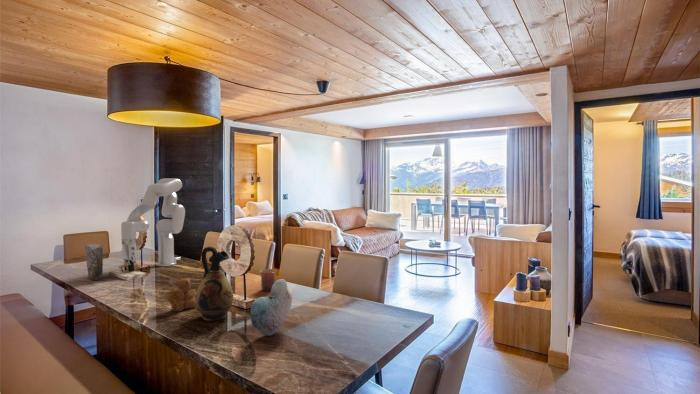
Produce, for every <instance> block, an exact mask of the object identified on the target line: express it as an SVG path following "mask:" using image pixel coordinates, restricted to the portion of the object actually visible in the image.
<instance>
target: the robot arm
mask: <svg viewBox="0 0 700 394" xmlns="http://www.w3.org/2000/svg"><path fill="white" fill-rule="evenodd" d="M182 188H183V182H182V181H181V179H179V178H174V177H173V178H172V177H171V178H166V177H165V178H161V179H159V180H158V182H157V183H151V184H149V185H148V186H147V188H146V191H145V193H144V195H143V197H142V200H141V201H140V203H139V205H137V206H136V207H135V208H134V209H133V210H132V211H131V212H130V214H129V215H128V217H127V218H126V219H127V220H126V221H122V222H121V225H120V227H121V229H120V230H121V231H120V232H121V233H120V234H121V235H120V237H121V239H120V240H121V245H122V246H121V257H122V259H123V265H125V263H124V262H126V261H128V262H129V265H128V271H129V272H130V271H134V262H135V261H136V262H137V259H138V251H137V238H136V236H137V234H136V233H142V232H143V233H144V232H147V231H148V230H149V229H150V223H149V222H148V221H147V220H144V219H140V218H141V217H142V216H143V215H144V214H146V213H148V212H150V211H152V210H154V209H155V208H156V206H157V203H158V200H159V198H160V197H163V202H162V208H161V215H162V216H163V217H164V218H165V219H163V218H162V219H160V220H158V221H157V223H156V225H155V227H156V232H157V238H158V239H157V240H158V241H157V244H158V262H156V263H155V266H157V267H169V266H175V265H176V264H177V261H178V260H179V261H180V260H181V259H182V258H181V256H177V257H176V256H175V250H174V249H175V245H174V244H175V242H174V240H175V239H174V235H173V234H179V233H181V232H182V230H183V227H184V223H185V222H184V221H185V217H186V208H185V207H184V206H183V205H182V204H180V203H179V204H178V194H177V193H176V192H179V191H180V190H181V189H182ZM167 218H168V219H167ZM169 218H170V219H169ZM131 259H132V260H131ZM130 261H131V262H130ZM123 269H125V271H126V266H125V267H123Z"/></svg>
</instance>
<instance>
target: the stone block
mask: <svg viewBox="0 0 700 394" xmlns="http://www.w3.org/2000/svg"><path fill="white" fill-rule="evenodd" d="M103 251H104V250H103V245H101V244H98V243H95V244H86V245H85V256H86V267H87V275H88V276H87V278H88V279H89V280H91V281H93V282H96V281H99V280H103V270H104V269H103V266H104V263H103V260H104V259H103V257H104V256H103V253H104V252H103Z"/></svg>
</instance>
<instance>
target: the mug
mask: <svg viewBox="0 0 700 394" xmlns="http://www.w3.org/2000/svg"><path fill="white" fill-rule="evenodd" d="M276 273H277V269H275V268H266V269H265V268H264V269H261V270H259V274H260V278H261V280H260V288H261V290H262V291H263V292H271V289H272V286H273V284H274V283H275V281H276Z"/></svg>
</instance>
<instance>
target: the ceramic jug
mask: <svg viewBox="0 0 700 394" xmlns="http://www.w3.org/2000/svg"><path fill="white" fill-rule="evenodd" d="M209 252H211V254H212V255H211V256H209V259H207V253H209ZM200 257H201V264H202V266H203V270H204V273H203V276H202V280H201V282H200V284H199V286H198V288H197V290H196V291H195V298H194V301H195V305H196V307H195V308H196V310H197V311H198V312H199V314H201V318H202V319H203V320H204V321H209V322H217V321H221V320H224V319H225V318H226V315H227V313H228V312H229V310H230V309H231V307H232V306H233V303H234V291H233V287H232V284H231V282H230V281H229V279H228V277H226V275H225V273H224V272H223V271H222V268H221V267H220V264H221V263H222V262H224V261H227V260H229V259H230V256H229V254H228V253H227V252H226V251H225V250H222V251H221V252H220V250H219V251H218V250H217V249H216V247H213V246H210V245H209V246H207V247H204V248H203V249H202V251H201V253H200ZM208 261H209V263H211V265H210V267H209V263H208Z"/></svg>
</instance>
